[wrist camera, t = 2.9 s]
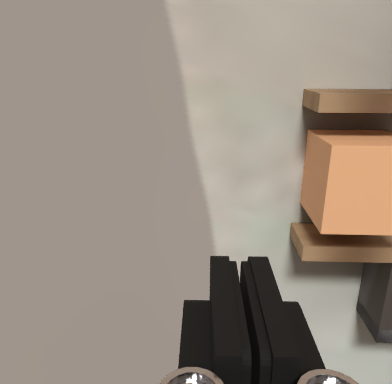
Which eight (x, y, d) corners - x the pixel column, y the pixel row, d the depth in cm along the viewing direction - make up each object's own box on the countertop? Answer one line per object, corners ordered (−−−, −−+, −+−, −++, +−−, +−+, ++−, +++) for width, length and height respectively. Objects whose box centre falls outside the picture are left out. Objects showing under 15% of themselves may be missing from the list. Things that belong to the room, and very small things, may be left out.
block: (386, 130, 23) (431, 146, 19) (374, 203, 25) (412, 235, 20) (307, 129, 23) (331, 145, 19) (299, 202, 25) (320, 233, 20)
